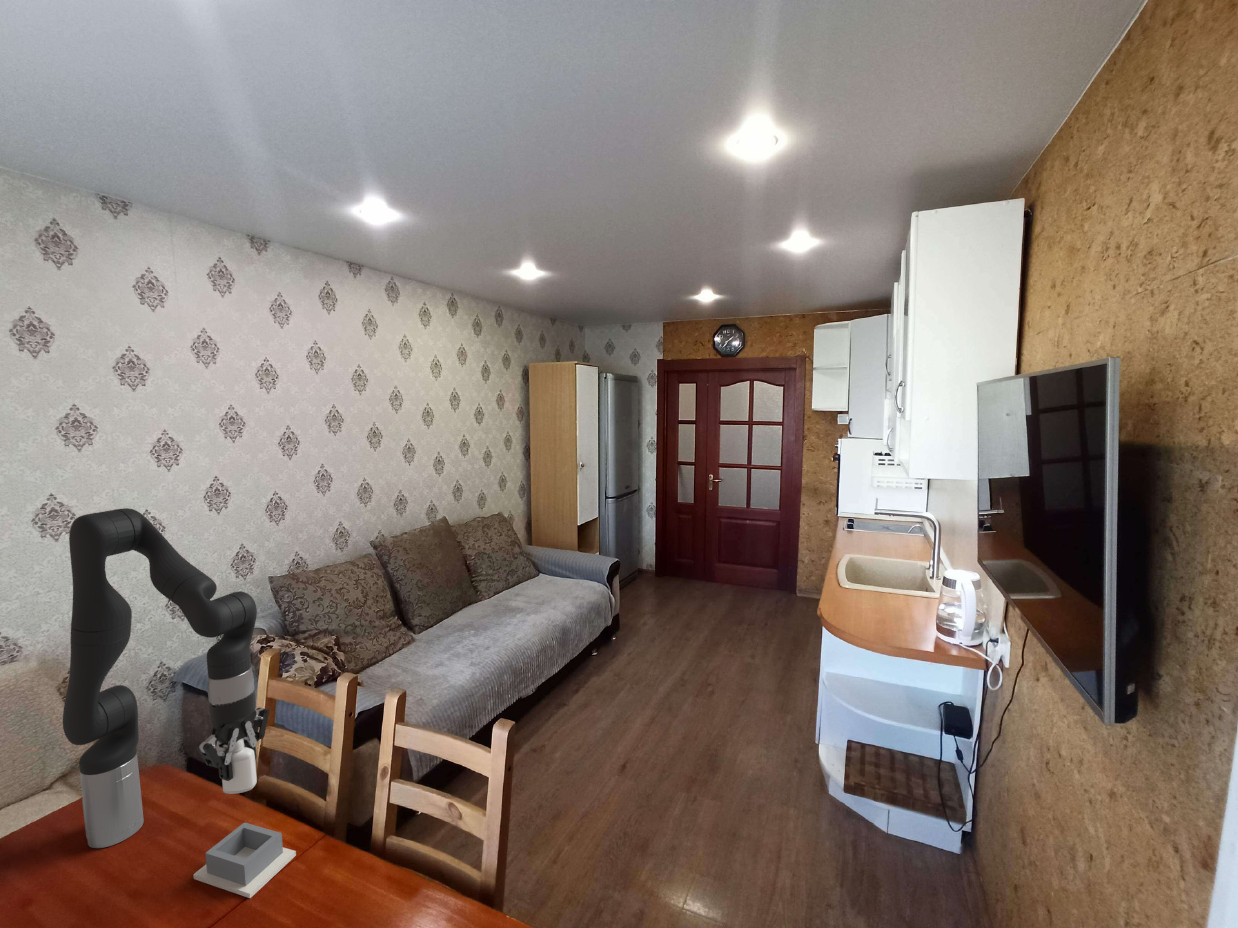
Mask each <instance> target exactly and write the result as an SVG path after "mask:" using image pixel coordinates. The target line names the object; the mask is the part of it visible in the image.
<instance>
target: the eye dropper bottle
mask: <svg viewBox="0 0 1238 928" xmlns="http://www.w3.org/2000/svg"><path fill="white" fill-rule="evenodd" d="M224 755H225V753H224ZM230 762H232V770H233V779H231V780H230V781H226V780H223V779H221V782H222V792H223V793H224V794H229V795H230V794H231V795H234V794H235V795H236V794H240V793H241V794H242V793H245V792H248V791H251V790H253V788H254V787H255V786H256V785H257V781H258V778H257V766H256V765H257V764H256V760H255V754H254V750H252V749H250V748H247V747H245V745H244V738H242V739H239V740H238V741H237V742H236V744H235V750H234V751H233V752H232V756H231V761H230Z"/></svg>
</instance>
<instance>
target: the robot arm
mask: <svg viewBox="0 0 1238 928" xmlns="http://www.w3.org/2000/svg"><path fill="white" fill-rule="evenodd" d="M68 538H69V540H68V541H69V542H68V543H69V555H70V556H69V557H70V566H71V575H72V608H71V609H72V610H71V622H70V657H69V659H70V662H69V675H68V676H69V677H68V684H67V688H66V689H67V690H66V695H65V700H64V705H63V712H62V728H63V729H62V730H63V733H64V735H65V738H66V739H67V741H68V742H69V743H71V744H72V745H75V746H84V745H88V744H90V743H92V742H94V743H93V744H92V745H91V746H90V747H88V749H86V750H85V751H84V752H83V753H82V755H81V756H80V758H79V759H78V760H79V761H78V767H79V777H80V784H81V795H82V799H81V802H82V810H83V821H84V829H85V837H86V840H87V845H88V846H89V847H90V848H92V849H103V848H107V847H112V846H114V845H116V844H119V843H121V842H123V841H125V840H127V839H128V838H131V837H132V836H133V835H135V833H137V832H138V831H140V829H141V827H143V824H144V813H143V801H142V800H143V799H142V791H141V781H140V771H139V762H138V750H137V747H138V743H139V739H140V738H139V735H140V733H139V710H138V709H139V707H138V702H137V701H138V700H137V699H136V695H135V694H134V692H133V691H132V690H131V689H130V688H129V687H128V686H126V685H121V684H118V685H114V686H110V687H109V688H106V689H104V690H101V688H102V686H103V682H104V681H105V679H106V677H107V675H108V674H109V673H110V671H111V670H112V668H113V666H115V665H116V662H117V661H118V659H120V657H121V656H122V654H123V652H124V651H125V649H126V648H127V646H128V643H129V641H130V639H131V633H132V617H133V615H132V614H133V613H132V608H131V606H130V604H129V602H128V601H127V600H126V599H125V598H124V597H123V596H122V594H121V593H120V592H119V591H117V590H116V589H115V588H114V587H113V586H112V584H110V582H109V581H108V578H107V574H106V561H107V558H108V557H111V556H115V555H120V554H123V553H127V552H131V551H134V552H137V553H139V554H141V555H142V556H144V557H145V558H146V559H147V560H148V563H149V576H150V577H149V578H150V581H151V583H152V585H153V587H154V588H155V589H156V591H158V592H159V593H160V594H161V595H163V596H164V597H165V598H167V599H168V600H169V601H171V602H172V603H173V604H175V605H176V606H178V608H179V609H180V611H181V613H182V614H183V615H184V617H185V618H186V620H187V622H188V624H189V625H190V627H191V628H192V630H193V631H194V632H195V634H197V635H199V636H201V637H204V638H207V639H208V638H209V639H211V638H212V639H213V638H216V637H217V638H218V637H220V636H222V637H221V638H220V639H219V640H218V641H217V642H215V643H213V645H211V647H210V648H208V650H207V653H206V667H207V668H206V669H207V677H208V678H207V695H208V698H207V699H208V707H209V708H208V709H209V718H210V722H211V724H212V730H211V732H210V736H208V737H207V738H206V739H205V740H204V741H199V742H197V745H196V749H197V751H198V752H199V754H200V756H201V757H202V759H203V760H204V763H205V764H206V766H208V767H213V768H216V769H217V768H218V776H219V779H221V780H222V779H223V780H226V781H230V780H231V779H233V770H232V762H230V761H231V756H232V752H233V751H234V750H235V744H236V742H237V741H238V740H239V739H242V738H244V747H247V748H250V749H252V750H254V754H255V761H256V760H257V748H256V747H257V745H258V742H259V741H260V740H263V739H264V738H265V735H266V730H267V727H268V726H267V724H268V720H269V715H270V709H269V708H263V707H257V705H256V703H257V702H256V689H255V680H254V673H253V669H252V660H251V651H250V650H251V649H250V648H251V643H252V640H253V635H254V630H255V626H256V625H255V624H256V621H257V614H258V610H257V609H258V608H257V604H256V602H255V600H254V598H253V597H252V596H251V595H250V594H249V593H248V592H245V591H234V592H231V593H229V594H225V595H223V596H220V597H217V598H215V599H212V598H213V597H214V596H215V595H216V592H217V590H218V587H217V583H216V582H215V580H213V579H212V578H211V577H210V576H209V575H207V574H205V573H204V572H203V571H201V569H199V568H197V567H196V566H194V564H192V563H191V562H189V561H188V560H186V559H185V557H183V556H182V555H181V554H180V553H179V552H178V551H177V550H176V549H175V548H174V547H173V545H172V544H171V543H170V542H169V541H168V540H167V538H166V537H165V536H164V535H163V534H162V533H161V532H160V531H159V530H158V529H157V527H156V526H154V524H153V523H152V522H151V521H150V520H149V519H148V518H147V517H146V516H145V515H143V514H142V512H140V511H138V510H136V509H133V508H125V507H123V508H117V509H111V510H105V511H100V512H98V511H97V512H93V513H86V514H83V515H80V516H78V517H76V518H75V519H74V520H73V522H72V523H71V525H70V529H69V537H68ZM256 707H257V708H256ZM216 741H217V742H216ZM224 754H225V755H224Z"/></svg>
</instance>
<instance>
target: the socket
mask: <svg viewBox="0 0 1238 928" xmlns="http://www.w3.org/2000/svg"><path fill="white" fill-rule="evenodd" d="M283 845H284V844H283V834H282V832H280V831H275V830H273V829H268V828H265V827H263V826H259V825H255V824H252V823H249V822H243V823H242V824H240V825H239V826H238V827H236V828H235V829H234V830H233V831H232V832H230V833H229V834H227V835H226V836H225V837H224V838H222V839H221V840H220V841H218V843H216V844H214V846H212V847H211V848H209V850H207V851H206V852H205V865H203V866H202V867H201V868H199V870H196V872H195V873H194V874H193V880H196V881H199V882H201V883H204V884H208V885H210V886H213V887H216V888H219V889H223V890H225V891H227V892H230V893H233V894H237V895H240V896H242V897H245V898H248V899H252V898H253V896H254V895H256V894H257V893H258V892H259V890H261V889H262V888H263V887H264V886H265V885H266V884H267V883H268V882H269V881H270V880H271V879H273V877H275V876H276V875H277V874H278V873H279V872H280V871H281V870H283V868H284V867H286V866H287V865H288V863H290V862H291V861H292V860H293V859H294V858H295V857H296V856H297V851H296V850H293V849H290V848H286V847H283Z"/></svg>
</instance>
